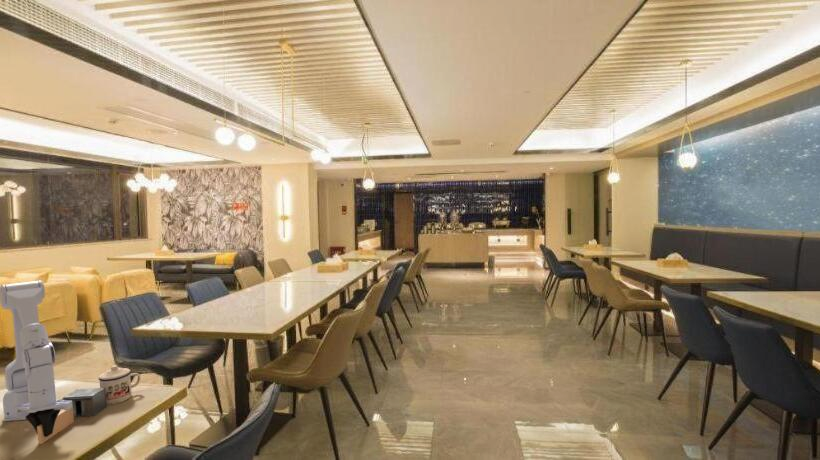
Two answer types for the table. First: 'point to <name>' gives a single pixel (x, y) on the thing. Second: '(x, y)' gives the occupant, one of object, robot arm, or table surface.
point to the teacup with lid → (117, 384)
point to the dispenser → (87, 401)
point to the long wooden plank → (57, 425)
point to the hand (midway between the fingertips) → (45, 435)
